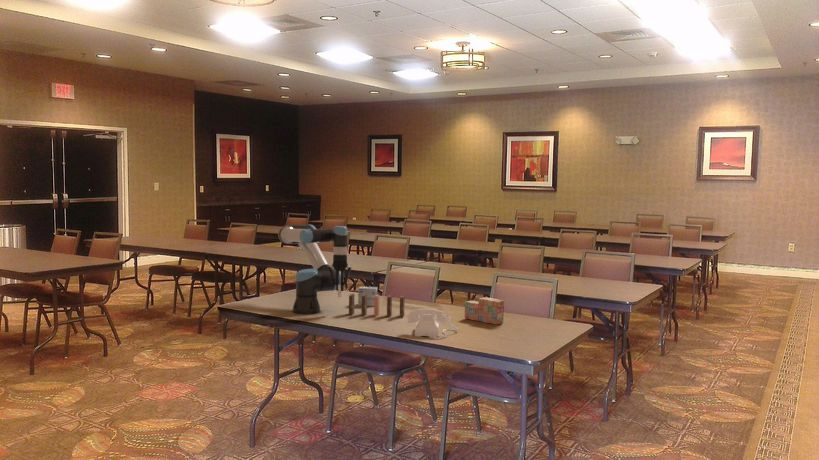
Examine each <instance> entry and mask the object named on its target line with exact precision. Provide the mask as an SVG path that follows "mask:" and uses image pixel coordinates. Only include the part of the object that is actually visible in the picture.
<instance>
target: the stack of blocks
mask: <svg viewBox="0 0 819 460" xmlns="http://www.w3.org/2000/svg"><path fill="white" fill-rule="evenodd" d="M504 311H505V300H503V299H499V298H491V297H485V296H484V297H481V298H478V301H476V300H468V301H464V319H465V320H466V319H467V320H472V321H476V322H482V323H487V324H491V325H495V326H498V325H500V324H504V315H505V313H504Z"/></svg>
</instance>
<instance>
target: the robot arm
mask: <svg viewBox="0 0 819 460" xmlns="http://www.w3.org/2000/svg"><path fill="white" fill-rule="evenodd" d="M277 236H278V239H279V241H280V242H282V243H284V244H287V245H297V246H298V247H299V248H300V249H302V250H303V251H304V252H305V255H306V256H307V259H308V261H309V262H310V264H311V266H312V268H305V269H301V270H298V271H297V272H296V274H295V275H296V277H295V300H294V303H293V305H292V312H293V313H295V314H304V315H305V314H306V315H307V314H308V315H309V314H311V315H312V314H317V313H319V312H321V306H320V302H319V299H318V292H319V293H321V292H330V291H337V297H338V298H342V297H343V292H344V290H345V289H344V287H345V285H347V284H348V281H349V276H350V272H351V270H352V269H353V268H352V267H353V266H350V265H349V264H348V255H347V254H348V227H347V226H344V225H335V226H333V228H330V227H328V228H327V227H326V228H316V227H315V226H314V225H313V224H309V223H306V224H287V225H283V226H282V227H280V228H279V230H278V233H277ZM318 243H333V245H332V246H333V248H332V249H333V251H332V254H333V256H332V257H333V259H332V260H333V261H332V264H329V263H328V261H327V259H326V258H325V257H326V256H325V255H324V253H323V252H322V250H321V249H320V247H319V244H318ZM345 270H346V272H345Z"/></svg>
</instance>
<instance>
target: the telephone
mask: <svg viewBox="0 0 819 460" xmlns="http://www.w3.org/2000/svg"><path fill="white" fill-rule="evenodd" d="M447 318H448V324H449V326H450V328H444V329H442V334H443V335H444V336H439V329H440V327H439V326H440V324H442V325H445V324H446V323H447ZM407 323H410V324H413V323H416V324H415V329H414V336H415V337H418V338H420V337H428V338H430V339H432V340H443V339H446V338H447V336H448V335H447V333H446V332H447V331H459V328H458V327H457V326H455V325H454V324H453V323H452V315H449V314H446V312H445V311H442V310H439V309H435V308H420V309H414V310H411V311H409V313H408V315H407ZM439 323H440V324H439Z"/></svg>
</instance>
